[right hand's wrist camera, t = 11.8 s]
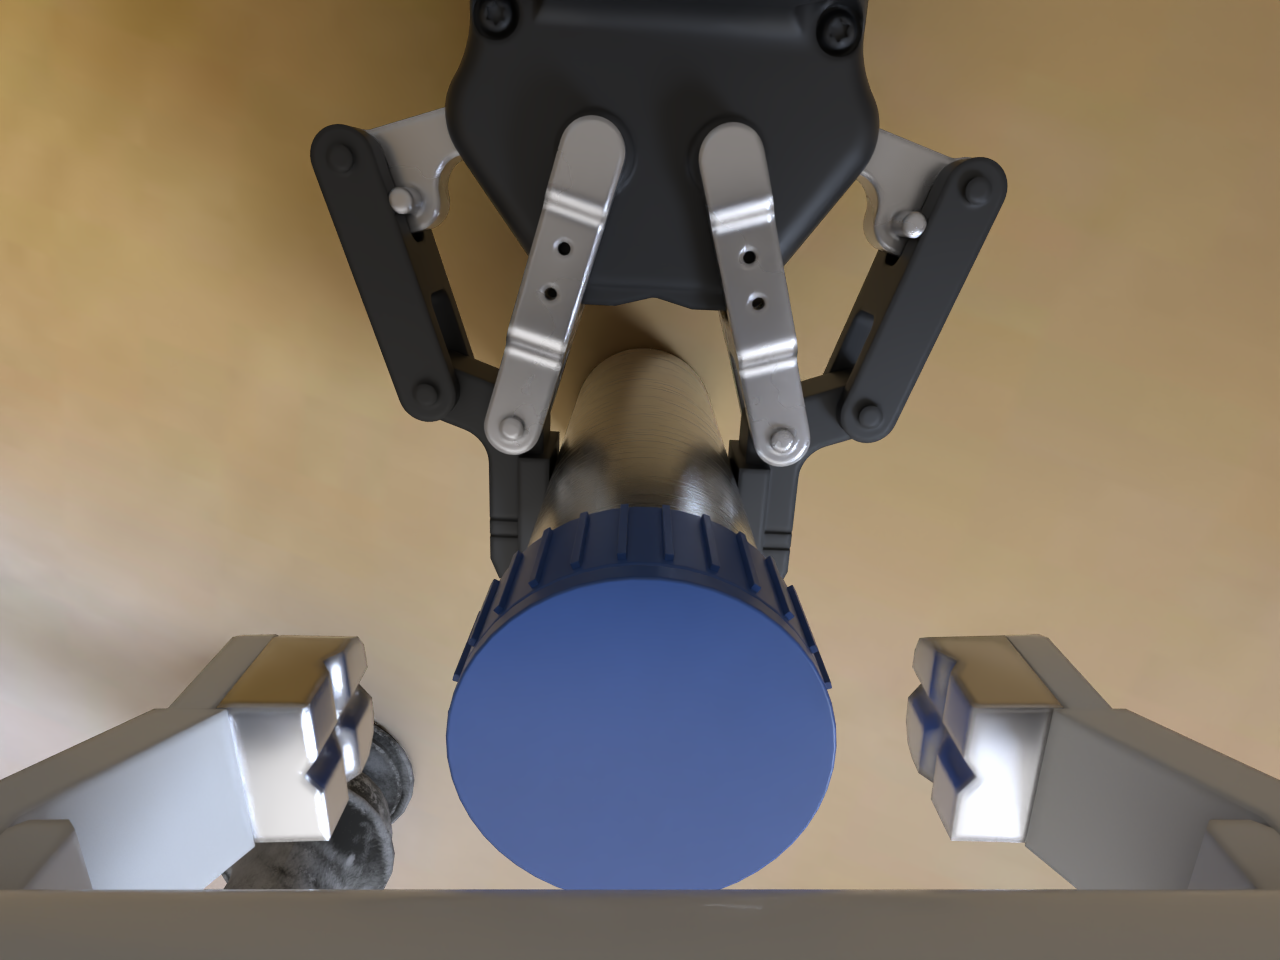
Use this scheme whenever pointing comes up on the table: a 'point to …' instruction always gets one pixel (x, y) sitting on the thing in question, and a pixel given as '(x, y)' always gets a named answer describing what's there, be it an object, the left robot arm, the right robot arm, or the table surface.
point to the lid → (641, 707)
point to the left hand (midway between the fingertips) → (638, 590)
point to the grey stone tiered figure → (340, 834)
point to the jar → (643, 446)
